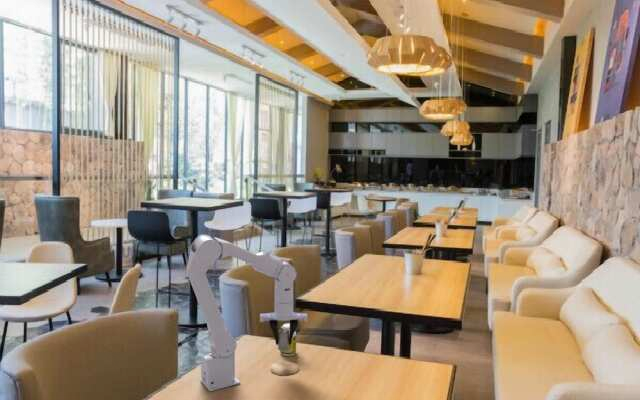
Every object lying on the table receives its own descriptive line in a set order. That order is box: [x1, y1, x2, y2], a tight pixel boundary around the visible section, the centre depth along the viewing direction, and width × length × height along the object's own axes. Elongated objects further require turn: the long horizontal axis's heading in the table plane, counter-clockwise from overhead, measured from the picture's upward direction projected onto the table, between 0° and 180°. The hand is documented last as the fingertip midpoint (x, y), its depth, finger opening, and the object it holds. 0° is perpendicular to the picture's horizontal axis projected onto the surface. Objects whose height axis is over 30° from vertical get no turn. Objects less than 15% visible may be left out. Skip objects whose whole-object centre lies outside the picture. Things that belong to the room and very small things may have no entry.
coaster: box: [269, 361, 300, 376], centre depth 158 cm, size 9×9×1 cm
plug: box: [277, 325, 289, 352], centre depth 156 cm, size 3×3×7 cm
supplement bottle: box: [279, 322, 297, 357], centre depth 170 cm, size 5×5×10 cm
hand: (283, 343), depth 156 cm, fingers closed on plug, 3 cm apart
